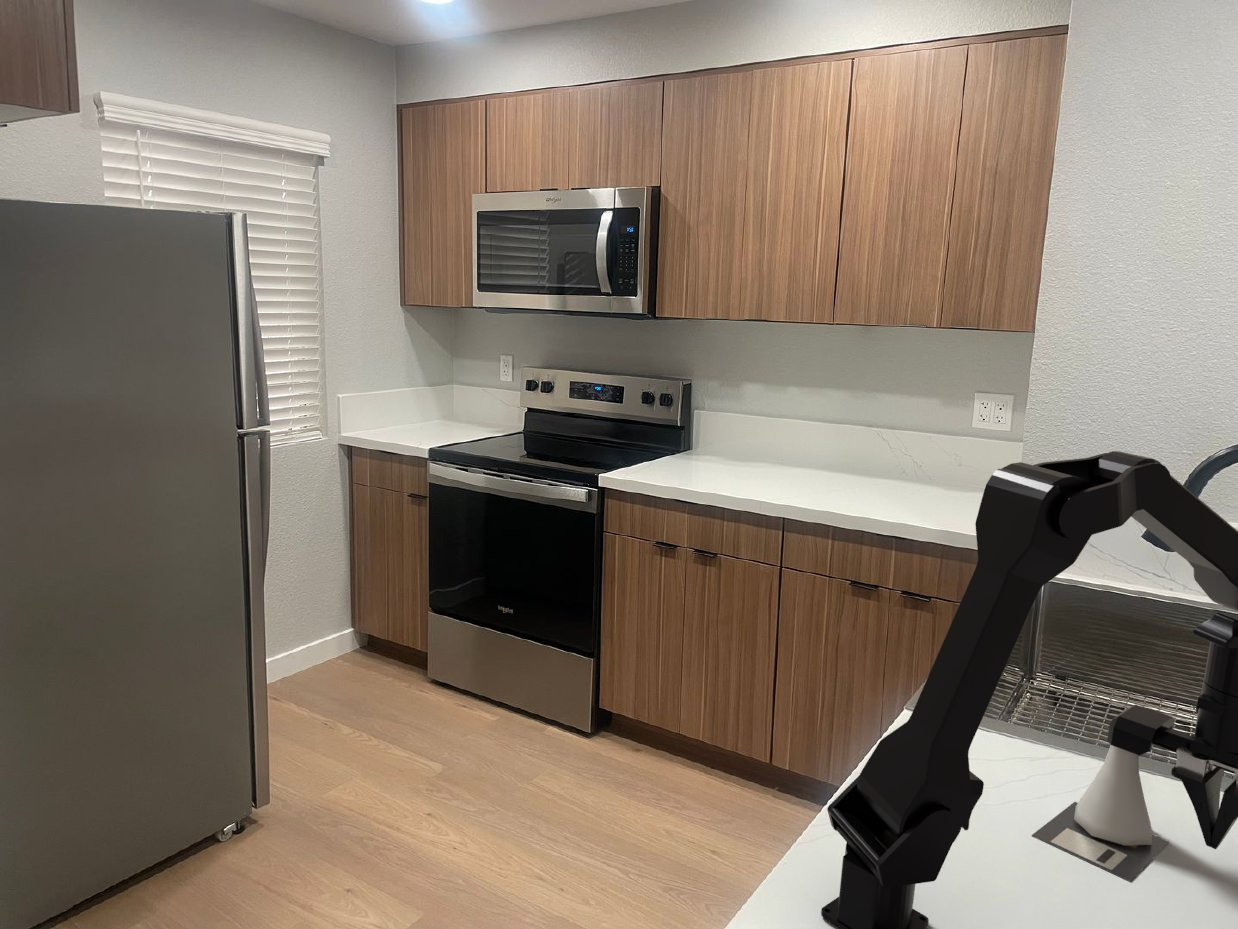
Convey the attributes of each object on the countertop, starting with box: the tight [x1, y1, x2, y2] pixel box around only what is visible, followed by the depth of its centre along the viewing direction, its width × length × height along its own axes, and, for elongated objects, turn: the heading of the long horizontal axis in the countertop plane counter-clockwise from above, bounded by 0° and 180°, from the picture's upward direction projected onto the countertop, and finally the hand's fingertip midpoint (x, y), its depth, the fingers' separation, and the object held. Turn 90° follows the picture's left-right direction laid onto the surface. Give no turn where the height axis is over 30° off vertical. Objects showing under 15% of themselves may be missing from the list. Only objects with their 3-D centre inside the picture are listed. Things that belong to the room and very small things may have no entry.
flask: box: [1074, 744, 1153, 845], centre depth 90 cm, size 7×7×10 cm
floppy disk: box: [1031, 801, 1170, 882], centre depth 89 cm, size 10×9×1 cm
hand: (1212, 846), depth 84 cm, fingers closed
